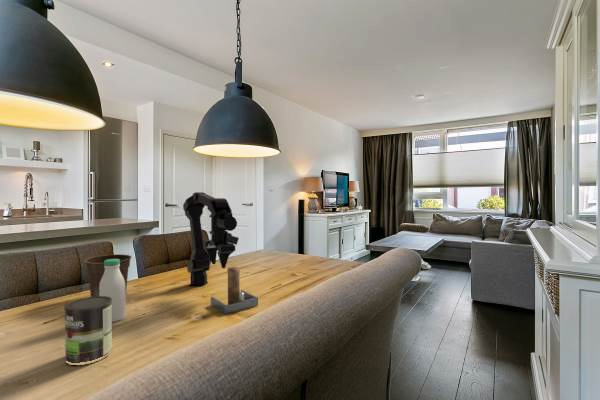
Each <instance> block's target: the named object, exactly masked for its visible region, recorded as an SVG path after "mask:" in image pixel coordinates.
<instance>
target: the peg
mask: <svg viewBox="0 0 600 400" xmlns="http://www.w3.org/2000/svg"><path fill="white" fill-rule="evenodd" d="M240 280H241V279H240V267H238V266H230V267H227V304H231V303H235V302H239V293H241V290H240V288H241V287H240V286H241V284H240V283H241V281H240Z"/></svg>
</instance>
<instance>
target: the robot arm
mask: <svg viewBox="0 0 600 400" xmlns="http://www.w3.org/2000/svg"><path fill="white" fill-rule="evenodd" d="M205 207H207V208H206V209H207V210H208V211H209V212H210V214H209V218H210V219H211V220H210V225H211V226H210V227H211V228H210V231H209V234H210V237H211V238H210V239H205V240H203V239H204V238H203V232H202V224H201V217H202V215H203V214H204V208H205ZM182 208H183V211H184V215H185V217H186V218H187V219H188V220H189V227H190V236H191V245H192V251H191V254H190V256H189V257H190V258H189V260H190V261H189V262H188V265H187V266H186V269H187V273H190V283H189V284H188V287H189V286H191V287H203V286H204V285H206V284H208V283H209V281H208V273H207V271H210V267H211V266H210V265H211V264H212V265H216V261H217V257H218V259H219V263H220V265H221V268H222V269H225V268H226V267H227V263H228V260H229V257H230V256H231V254H233V253H234V252H235V251H236V245H238V241H239V237H237V236H234V235H232V233H230V232H231V231H232V232H233V231H234V230H236V228H237V226H238V221H237V219H236V218H235V216H233V213H232V209H231V207H230V204H229V202H228V200H227V198H225V197H223V198H221V197H217V198H216V197H214V196H212V195H209V194H207V193H205V192H204V191H203V192H193V193H192V195H191V196H189V197H188V198H186V199H185V200H184V202H183V205H182ZM228 231H229V232H228Z"/></svg>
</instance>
